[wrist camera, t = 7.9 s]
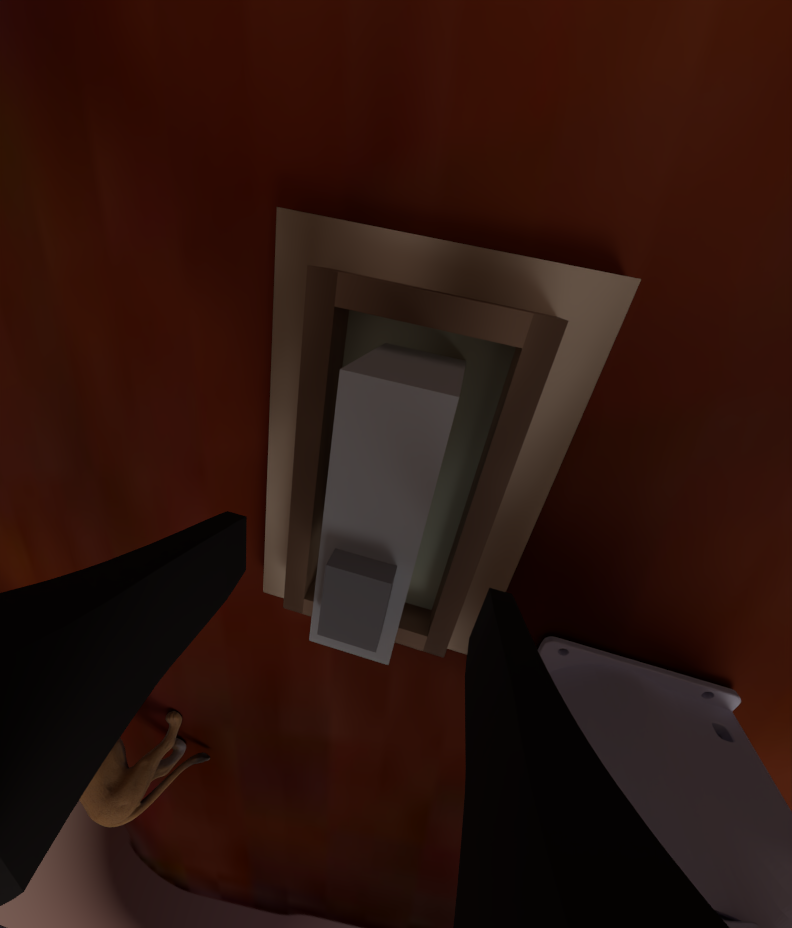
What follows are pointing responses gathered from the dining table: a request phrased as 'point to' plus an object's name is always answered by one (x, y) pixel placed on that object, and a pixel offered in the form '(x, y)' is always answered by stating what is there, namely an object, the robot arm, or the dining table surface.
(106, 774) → the lion figurine
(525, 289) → the cradle jig
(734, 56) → the dining table surface
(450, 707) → the dining table surface
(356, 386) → the grey pillar with nub
